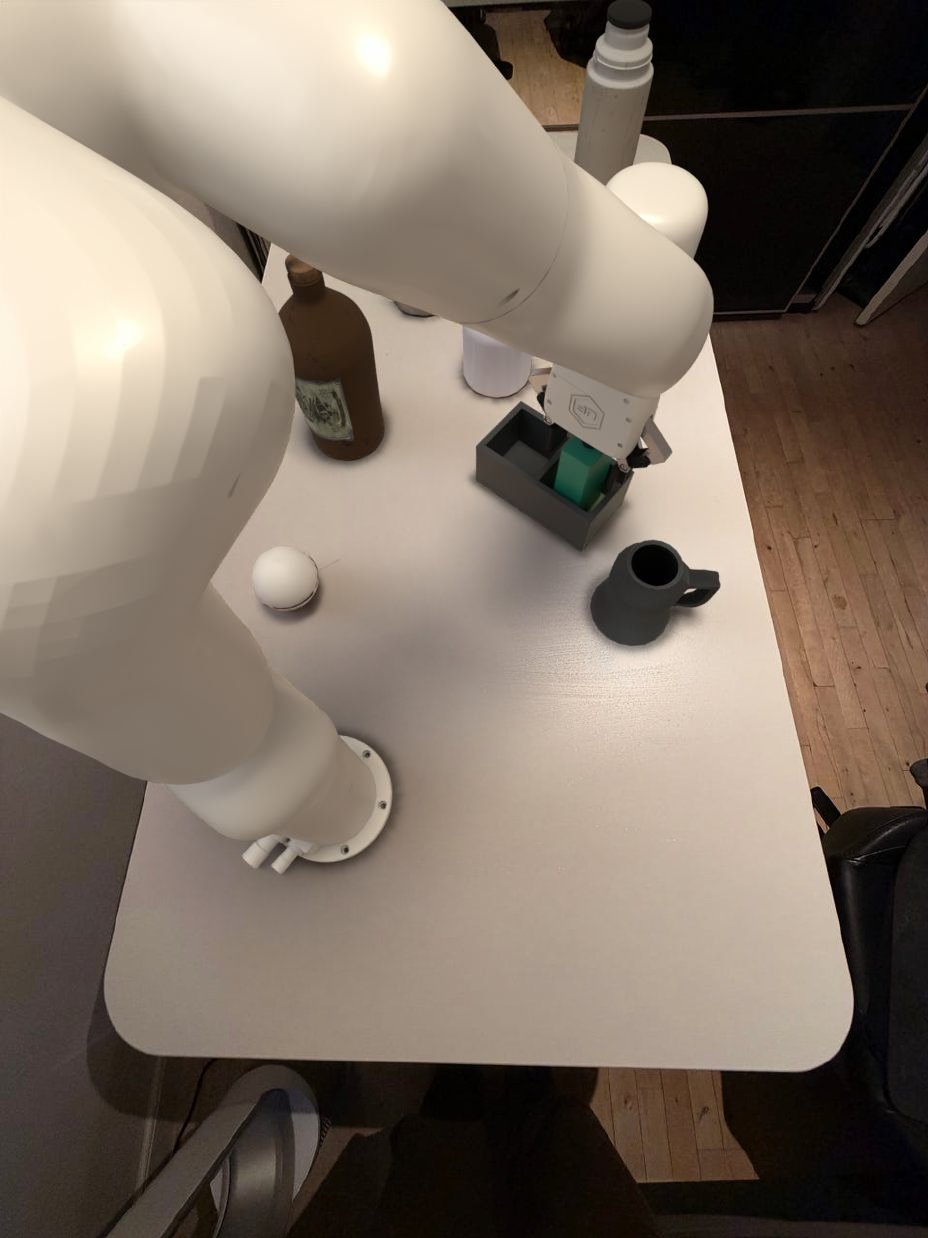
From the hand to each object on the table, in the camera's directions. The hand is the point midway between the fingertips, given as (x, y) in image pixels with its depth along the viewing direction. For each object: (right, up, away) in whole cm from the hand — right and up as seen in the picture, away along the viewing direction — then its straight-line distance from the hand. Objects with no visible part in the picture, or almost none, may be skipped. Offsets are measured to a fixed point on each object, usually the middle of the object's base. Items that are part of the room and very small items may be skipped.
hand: (585, 461), depth 70 cm
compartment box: (-3, -1, +10) cm, 10 cm away
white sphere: (-32, -14, +5) cm, 35 cm away
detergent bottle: (0, -3, +8) cm, 9 cm away
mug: (+7, -16, +4) cm, 18 cm away
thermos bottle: (+6, +40, +27) cm, 49 cm away
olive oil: (-29, +7, +14) cm, 33 cm away
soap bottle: (-9, +16, +18) cm, 26 cm away
